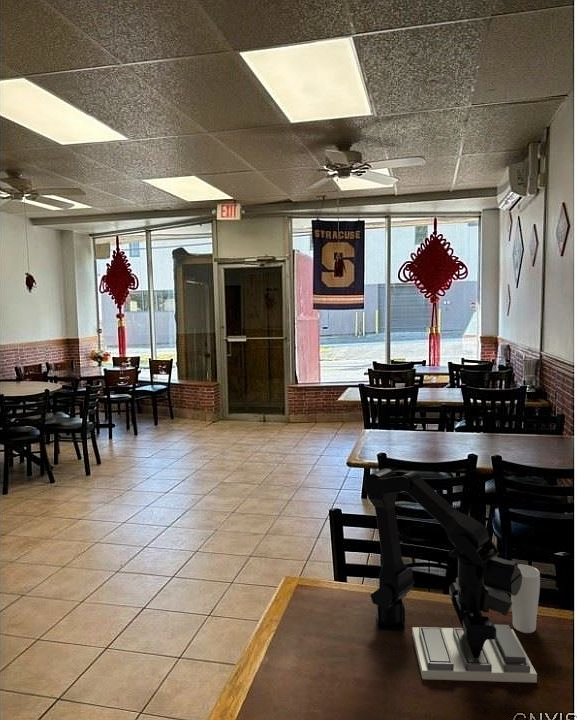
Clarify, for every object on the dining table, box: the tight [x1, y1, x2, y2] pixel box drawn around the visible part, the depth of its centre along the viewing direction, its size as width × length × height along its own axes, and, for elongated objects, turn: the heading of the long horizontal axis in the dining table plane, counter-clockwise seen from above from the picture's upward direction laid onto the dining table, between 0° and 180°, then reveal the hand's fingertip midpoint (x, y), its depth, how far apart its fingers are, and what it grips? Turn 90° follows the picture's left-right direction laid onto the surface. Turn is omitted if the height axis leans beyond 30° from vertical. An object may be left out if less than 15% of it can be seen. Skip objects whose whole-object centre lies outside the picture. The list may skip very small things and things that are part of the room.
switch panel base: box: [411, 626, 538, 683], centre depth 125 cm, size 24×16×4 cm, turn 85°
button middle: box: [456, 630, 487, 664], centre depth 124 cm, size 4×12×2 cm, turn 175°
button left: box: [422, 628, 450, 663], centre depth 125 cm, size 4×12×2 cm, turn 175°
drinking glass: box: [510, 563, 541, 634], centre depth 135 cm, size 7×7×15 cm
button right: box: [493, 623, 526, 664], centre depth 123 cm, size 4×12×2 cm, turn 175°
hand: (471, 644), depth 124 cm, fingers open, 9 cm apart
